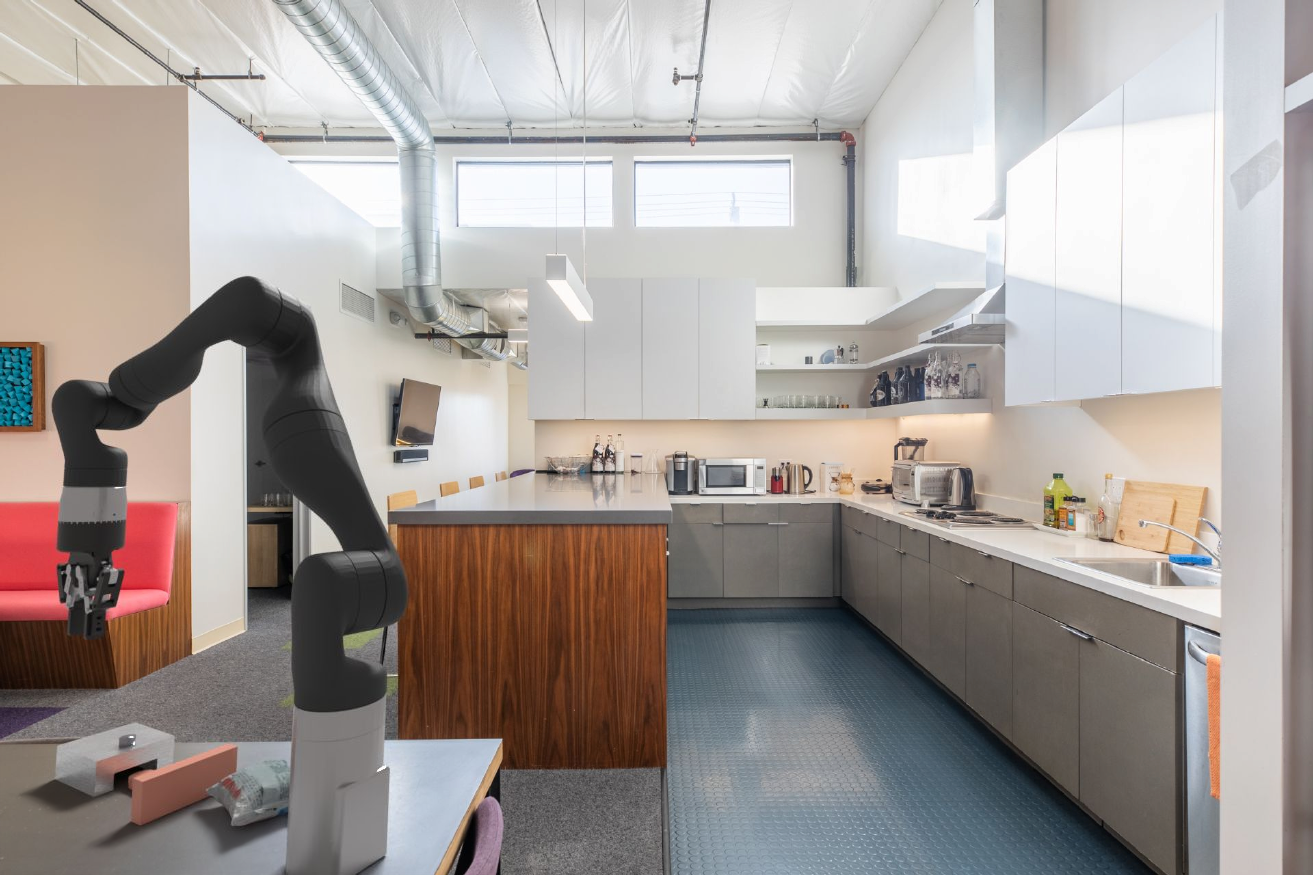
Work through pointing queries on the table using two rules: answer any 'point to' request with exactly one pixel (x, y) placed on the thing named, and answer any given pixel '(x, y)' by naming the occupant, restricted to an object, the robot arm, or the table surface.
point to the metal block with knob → (112, 756)
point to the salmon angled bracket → (179, 783)
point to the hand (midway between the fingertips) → (85, 635)
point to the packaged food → (254, 792)
